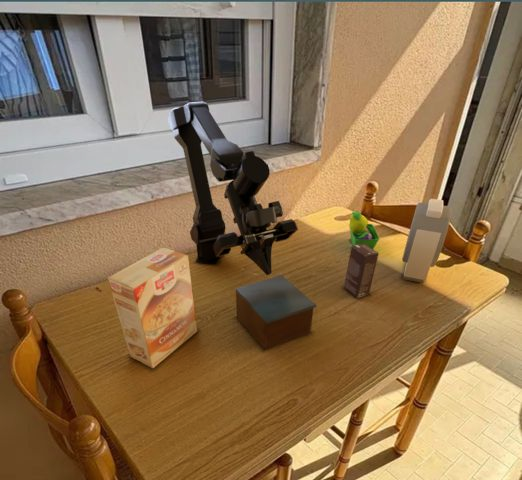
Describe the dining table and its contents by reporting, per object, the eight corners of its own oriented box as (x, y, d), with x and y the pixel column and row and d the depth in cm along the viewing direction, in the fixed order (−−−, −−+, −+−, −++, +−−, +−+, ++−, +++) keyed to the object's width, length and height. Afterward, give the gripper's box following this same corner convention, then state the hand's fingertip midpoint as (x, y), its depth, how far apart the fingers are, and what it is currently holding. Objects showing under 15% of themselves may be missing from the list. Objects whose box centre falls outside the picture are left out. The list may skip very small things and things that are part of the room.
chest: (310, 332, 88) (313, 305, 83) (264, 349, 84) (264, 321, 78) (280, 304, 97) (281, 277, 92) (236, 318, 92) (235, 290, 87)
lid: (315, 307, 83) (316, 304, 82) (266, 323, 78) (266, 321, 77) (281, 277, 92) (281, 274, 91) (235, 290, 87) (235, 288, 87)
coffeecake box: (153, 369, 79) (133, 288, 66) (128, 356, 81) (105, 277, 69) (199, 331, 88) (189, 254, 75) (175, 321, 91) (162, 245, 78)
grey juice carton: (427, 290, 102) (453, 217, 89) (395, 284, 104) (415, 211, 91) (431, 261, 115) (454, 192, 101) (402, 255, 117) (421, 188, 104)
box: (370, 294, 101) (379, 252, 93) (356, 298, 99) (364, 256, 91) (356, 283, 105) (364, 242, 97) (342, 287, 103) (350, 246, 95)
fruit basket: (376, 254, 117) (384, 219, 110) (348, 254, 117) (354, 218, 110) (369, 238, 126) (376, 204, 119) (342, 238, 126) (348, 204, 119)
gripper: (214, 196, 72) (242, 273, 73) (296, 181, 79) (321, 251, 80) (202, 221, 83) (227, 289, 83) (275, 206, 90) (298, 268, 90)
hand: (269, 274), depth 83 cm, fingers closed
